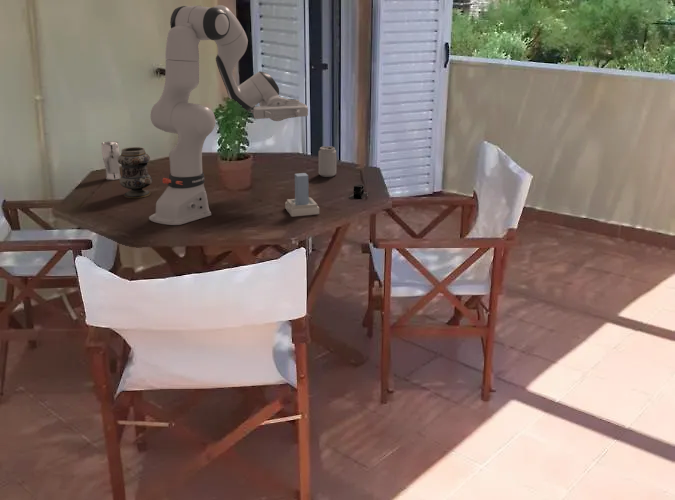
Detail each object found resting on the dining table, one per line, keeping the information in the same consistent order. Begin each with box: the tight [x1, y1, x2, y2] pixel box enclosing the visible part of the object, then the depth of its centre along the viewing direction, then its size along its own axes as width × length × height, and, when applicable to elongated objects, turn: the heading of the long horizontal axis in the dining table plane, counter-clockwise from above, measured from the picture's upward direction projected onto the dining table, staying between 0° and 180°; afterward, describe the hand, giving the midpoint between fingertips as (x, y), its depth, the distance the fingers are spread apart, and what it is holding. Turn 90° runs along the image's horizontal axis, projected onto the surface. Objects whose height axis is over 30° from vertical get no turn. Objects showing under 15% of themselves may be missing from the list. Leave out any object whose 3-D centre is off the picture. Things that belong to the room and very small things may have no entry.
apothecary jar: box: [118, 146, 153, 199], centre depth 283 cm, size 12×12×18 cm
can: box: [318, 145, 337, 178], centre depth 312 cm, size 8×8×12 cm
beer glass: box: [101, 140, 122, 181], centre depth 307 cm, size 7×7×15 cm
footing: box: [284, 197, 320, 217], centre depth 266 cm, size 10×10×4 cm
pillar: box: [294, 172, 310, 205], centre depth 263 cm, size 4×4×11 cm
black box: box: [348, 183, 368, 200], centre depth 285 cm, size 12×7×5 cm, turn 161°
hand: (284, 115), depth 268 cm, fingers open, 8 cm apart
